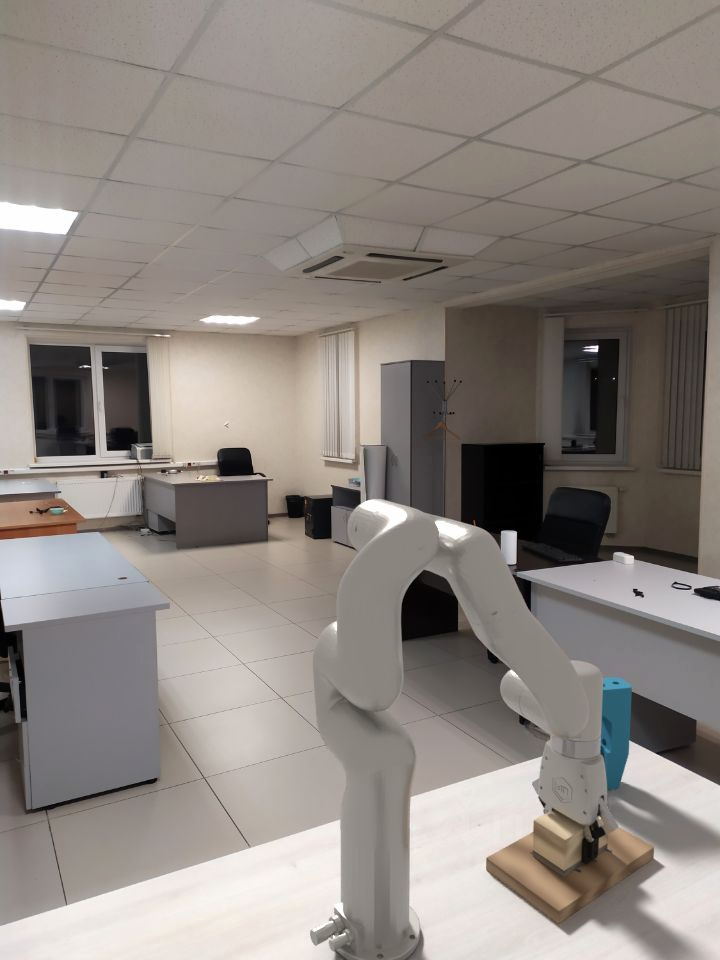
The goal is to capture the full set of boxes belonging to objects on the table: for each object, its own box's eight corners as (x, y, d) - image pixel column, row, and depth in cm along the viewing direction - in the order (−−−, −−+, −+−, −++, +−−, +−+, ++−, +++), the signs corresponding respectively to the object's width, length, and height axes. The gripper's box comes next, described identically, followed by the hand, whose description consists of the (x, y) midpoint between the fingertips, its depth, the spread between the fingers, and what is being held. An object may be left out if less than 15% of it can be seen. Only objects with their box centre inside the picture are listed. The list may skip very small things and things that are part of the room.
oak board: (558, 924, 96) (559, 910, 96) (486, 869, 107) (486, 857, 107) (653, 858, 110) (654, 846, 110) (580, 816, 121) (580, 805, 121)
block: (614, 773, 135) (619, 677, 133) (629, 787, 130) (634, 687, 128) (559, 779, 133) (562, 681, 131) (572, 794, 128) (575, 692, 126)
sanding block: (563, 876, 103) (565, 839, 102) (532, 855, 108) (533, 820, 107) (607, 849, 109) (608, 814, 109) (575, 830, 114) (577, 796, 113)
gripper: (516, 727, 111) (513, 830, 113) (609, 773, 97) (604, 889, 99) (546, 714, 116) (543, 814, 118) (639, 757, 102) (633, 869, 104)
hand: (571, 847), depth 108 cm, fingers closed on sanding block, 6 cm apart
